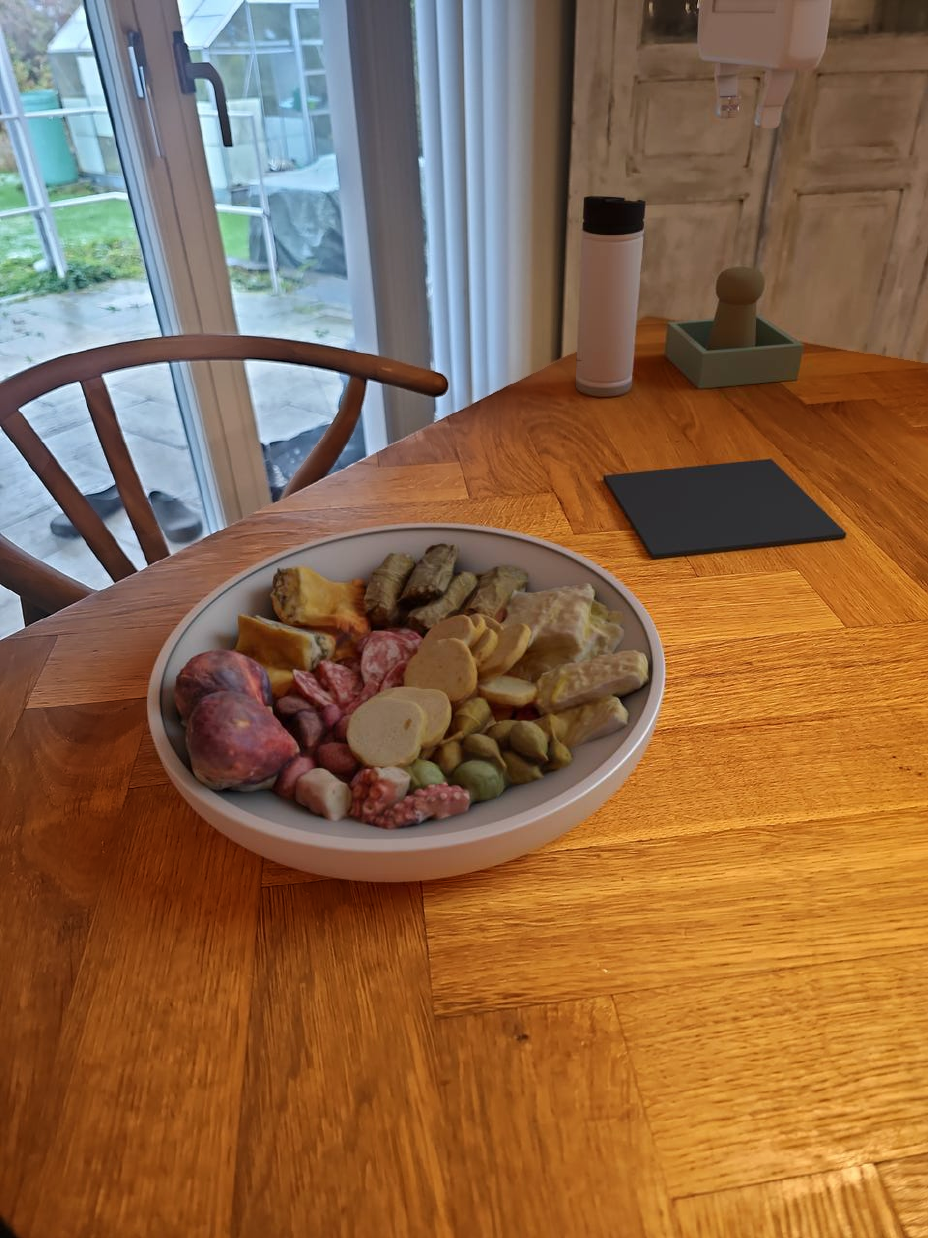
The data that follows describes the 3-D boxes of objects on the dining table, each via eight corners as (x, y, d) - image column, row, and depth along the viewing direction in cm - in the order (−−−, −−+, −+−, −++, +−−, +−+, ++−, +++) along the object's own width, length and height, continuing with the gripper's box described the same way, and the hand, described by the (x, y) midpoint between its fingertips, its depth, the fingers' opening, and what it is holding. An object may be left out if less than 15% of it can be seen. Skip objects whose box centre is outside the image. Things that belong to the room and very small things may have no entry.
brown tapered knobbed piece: (691, 368, 100) (703, 270, 93) (717, 354, 103) (731, 259, 97) (738, 380, 96) (754, 278, 90) (764, 365, 100) (781, 266, 93)
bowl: (428, 537, 70) (422, 449, 66) (754, 701, 53) (776, 597, 48) (81, 716, 54) (40, 616, 49) (385, 1044, 36) (365, 935, 31)
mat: (770, 463, 79) (771, 458, 79) (845, 538, 68) (847, 533, 67) (603, 480, 78) (603, 474, 77) (651, 559, 66) (652, 554, 66)
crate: (754, 347, 105) (760, 314, 102) (797, 380, 96) (804, 344, 93) (664, 355, 104) (667, 321, 101) (698, 389, 94) (702, 353, 92)
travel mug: (562, 389, 96) (567, 194, 84) (599, 373, 99) (610, 184, 88) (605, 403, 92) (617, 201, 80) (642, 386, 96) (659, 190, 84)
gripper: (868, -76, 64) (829, 132, 72) (757, -58, 81) (735, 110, 89) (788, -73, 64) (758, 137, 72) (693, -56, 80) (677, 113, 88)
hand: (745, 122), depth 81 cm, fingers open, 8 cm apart
